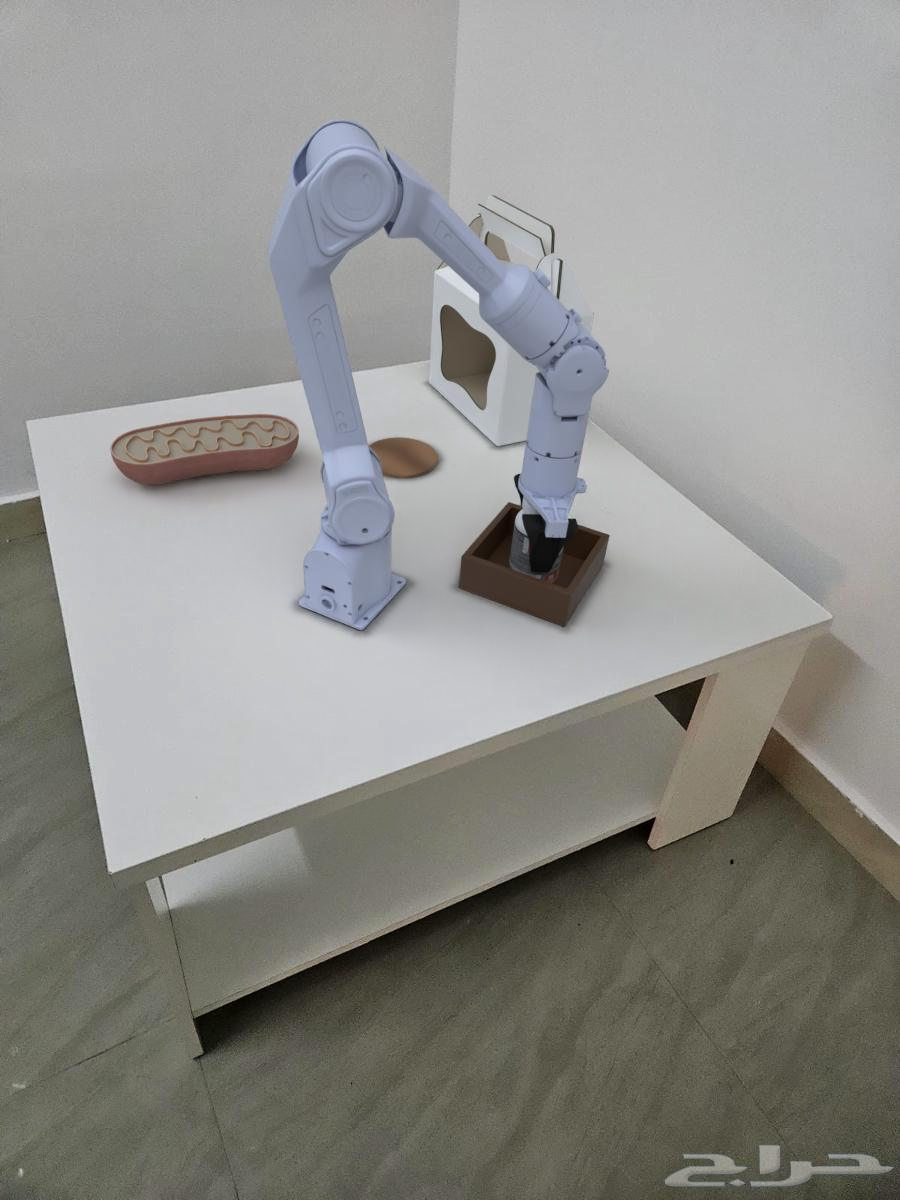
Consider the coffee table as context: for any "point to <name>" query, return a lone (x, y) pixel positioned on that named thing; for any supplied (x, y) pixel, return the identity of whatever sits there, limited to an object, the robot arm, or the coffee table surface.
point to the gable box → (476, 351)
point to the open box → (497, 582)
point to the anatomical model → (204, 447)
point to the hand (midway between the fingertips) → (536, 553)
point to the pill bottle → (521, 549)
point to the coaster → (404, 457)
